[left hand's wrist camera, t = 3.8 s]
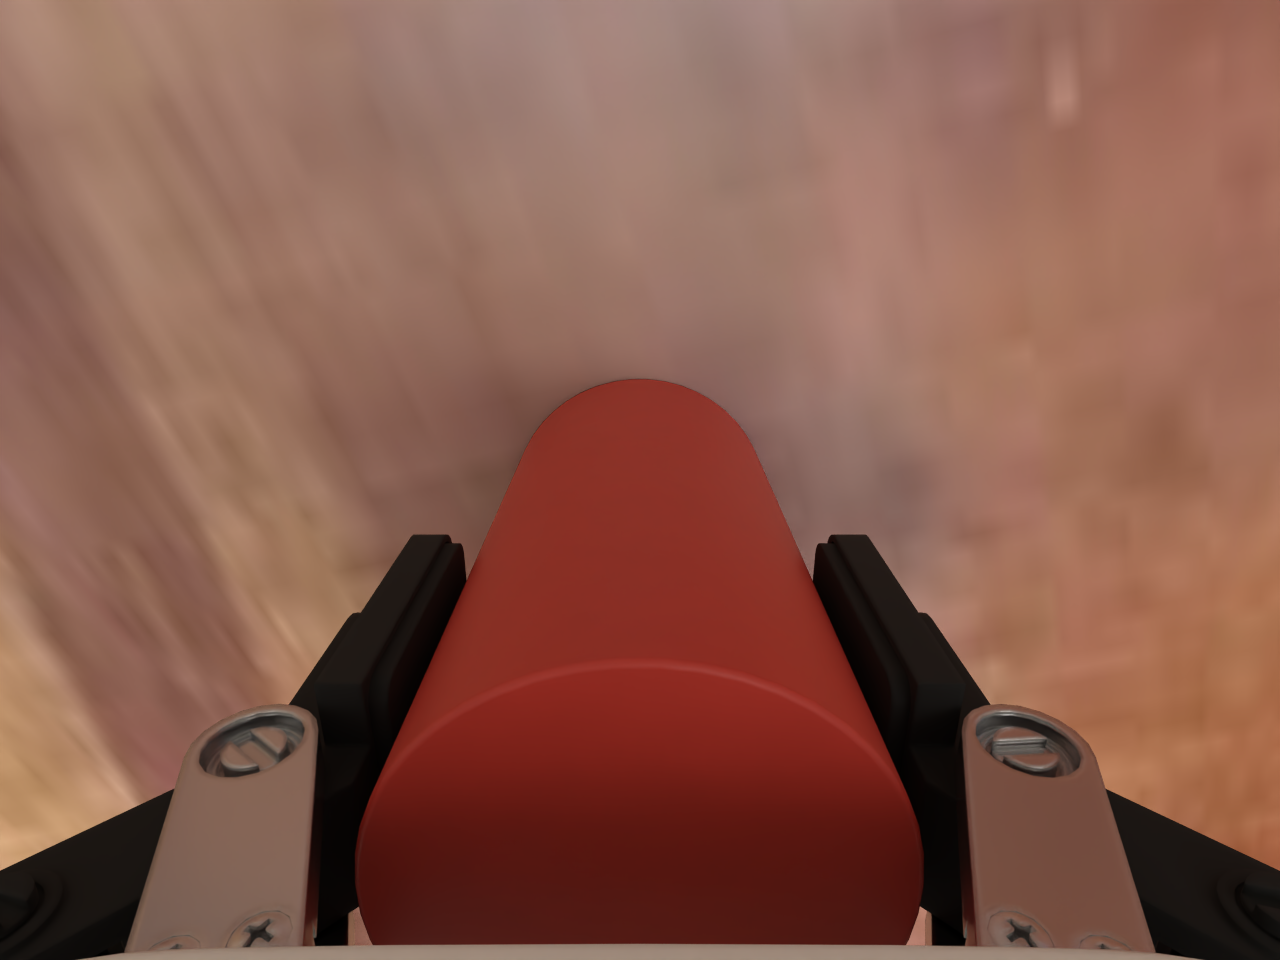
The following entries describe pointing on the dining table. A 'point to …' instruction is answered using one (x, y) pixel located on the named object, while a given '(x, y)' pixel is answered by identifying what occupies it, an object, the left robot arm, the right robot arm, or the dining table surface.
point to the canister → (639, 716)
